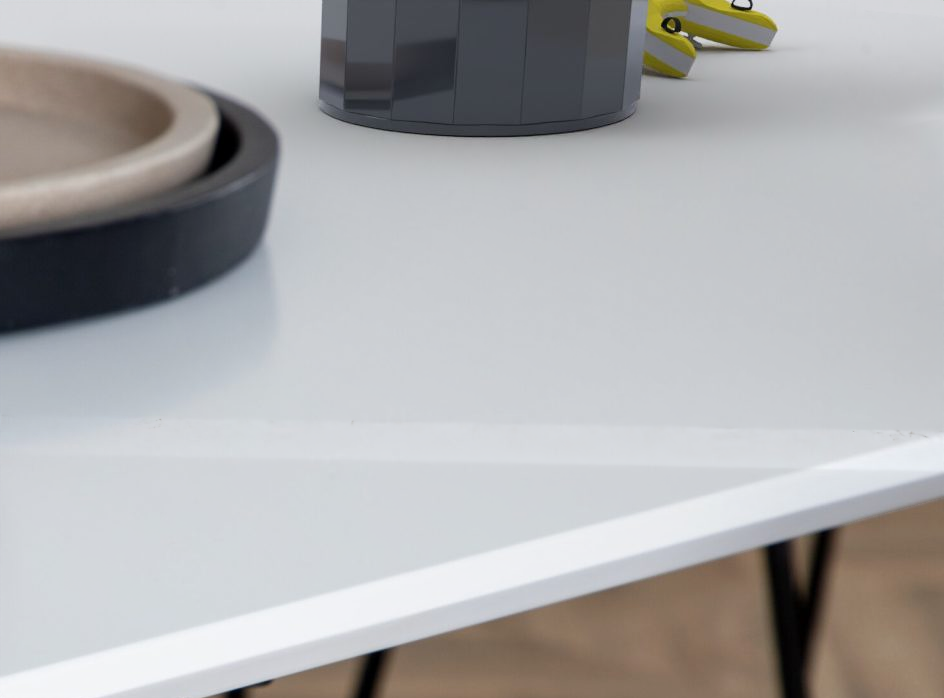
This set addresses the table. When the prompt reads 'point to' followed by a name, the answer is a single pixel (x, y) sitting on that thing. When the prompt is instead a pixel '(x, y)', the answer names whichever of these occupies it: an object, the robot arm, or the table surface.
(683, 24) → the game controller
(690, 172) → the table surface
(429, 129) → the tin
